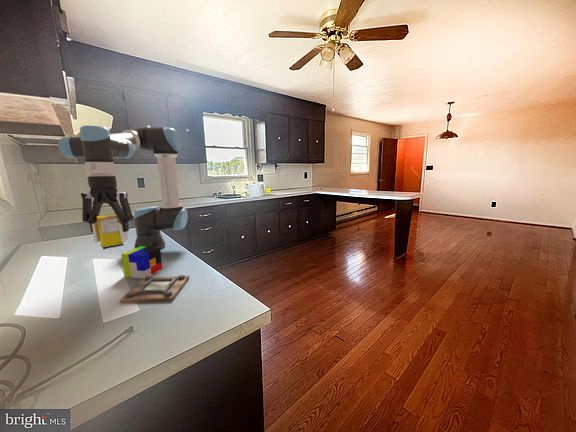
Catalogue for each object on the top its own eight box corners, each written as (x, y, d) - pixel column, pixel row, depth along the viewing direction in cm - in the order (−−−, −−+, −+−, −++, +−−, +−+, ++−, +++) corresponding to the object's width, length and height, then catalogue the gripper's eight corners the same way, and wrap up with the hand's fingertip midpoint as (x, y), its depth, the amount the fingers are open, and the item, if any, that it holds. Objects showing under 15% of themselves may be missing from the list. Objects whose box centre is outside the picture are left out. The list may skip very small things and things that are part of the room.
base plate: (146, 279, 96) (145, 274, 96) (189, 278, 98) (188, 273, 97) (120, 303, 80) (119, 297, 79) (172, 301, 81) (171, 295, 80)
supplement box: (120, 242, 88) (116, 213, 86) (124, 245, 84) (119, 215, 82) (100, 245, 84) (95, 215, 82) (102, 249, 80) (97, 217, 78)
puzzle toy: (145, 278, 98) (142, 255, 96) (124, 276, 100) (121, 253, 98) (162, 268, 107) (160, 247, 105) (143, 266, 109) (140, 246, 107)
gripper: (58, 175, 75) (71, 244, 80) (127, 175, 76) (136, 243, 81) (78, 175, 82) (89, 238, 87) (140, 174, 83) (147, 237, 88)
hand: (111, 240), depth 84 cm, fingers closed on supplement box, 8 cm apart
